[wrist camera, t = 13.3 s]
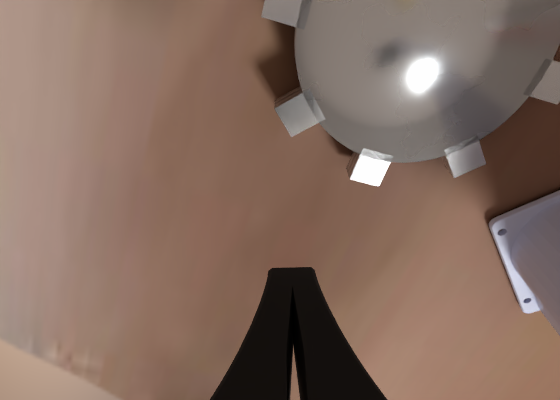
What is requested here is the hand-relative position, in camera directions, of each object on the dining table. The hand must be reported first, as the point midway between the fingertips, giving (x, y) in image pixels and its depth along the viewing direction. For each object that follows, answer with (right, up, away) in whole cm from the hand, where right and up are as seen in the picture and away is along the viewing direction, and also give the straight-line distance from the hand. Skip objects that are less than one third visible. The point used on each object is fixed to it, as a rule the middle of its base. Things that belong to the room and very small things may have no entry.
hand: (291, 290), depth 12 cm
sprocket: (+6, +10, +5) cm, 13 cm away
